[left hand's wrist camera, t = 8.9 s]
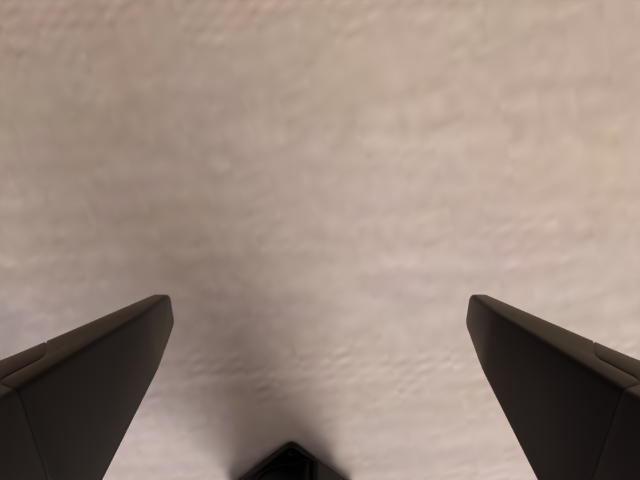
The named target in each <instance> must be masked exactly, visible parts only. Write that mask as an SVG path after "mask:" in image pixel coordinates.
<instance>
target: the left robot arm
mask: <svg viewBox="0 0 640 480" xmlns="http://www.w3.org/2000/svg"><path fill="white" fill-rule="evenodd" d="M173 323H174V319H173V312H172V306H171V300H170V297H169V296H168V295H153V296H150V297H148V298H146V299H143V300H141V301H139V302H137V303H134V304H132V305H130V306H127V307H125V308H123V309H120V310H118V311H116V312H113V313H111V314H109V315H106V316H104V317H102V318H99V319H97V320H95V321H93V322H90V323H88V324H86V325H83V326H81V327H79V328H76V329H74V330H72V331H69V332H67V333H65V334H62V335H60V336H58V337H55V338H53V339H51V340H49V341H47V343H45V342H44V343H41V344H39V345H37V346H34V347H32V348H30V349H27V350H25V351H23V352H20V353H18V354H15V355H13V356H11V357H8V358H6V359H3V360H1V361H0V480H102V479H103V477H104V475H105V473H106V471H107V469H108V467H109V465H110V463H111V461H112V459H113V457H114V455H115V453H116V451H117V449H118V447H119V445H120V443H121V441H122V439H123V437H124V435H125V433H126V431H127V429H128V427H129V425H130V423H131V421H132V419H133V417H134V415H135V413H136V411H137V409H138V407H139V405H140V403H141V401H142V399H143V397H144V395H145V393H146V391H147V389H148V387H149V385H150V383H151V381H152V379H153V377H154V375H155V373H156V371H157V369H158V366H159V364H160V361H161V359H162V356H163V353H164V350H165V347H166V345H167V342H168V339H169V336H170V334H171V331H172V328H173ZM466 323H467V328H468V331H469V334H470V336H471V339H472V342H473V345H474V347H475V350H476V353H477V356H478V359H479V361H480V364H481V366H482V369H483V371H484V373H485V375H486V377H487V379H488V381H489V383H490V385H491V387H492V389H493V391H494V393H495V395H496V397H497V399H498V401H499V403H500V405H501V407H502V409H503V411H504V413H505V415H506V417H507V419H508V421H509V423H510V425H511V427H512V429H513V431H514V433H515V435H516V437H517V439H518V441H519V443H520V445H521V447H522V449H523V451H524V453H525V455H526V457H527V459H528V461H529V463H530V465H531V467H532V469H533V471H534V473H535V475H536V477H537V479H538V480H640V361H639V360H637V359H634V358H632V357H629V356H627V355H625V354H622V353H620V352H617V351H615V350H613V349H610V348H608V347H606V346H603V345H601V344H599V343H596V342H595V343H593V341H591V340H589V339H587V338H585V337H582V336H580V335H578V334H575V333H573V332H571V331H568V330H566V329H564V328H561V327H559V326H557V325H554V324H552V323H550V322H547V321H545V320H543V319H541V318H538V317H536V316H534V315H531V314H529V313H527V312H524V311H522V310H520V309H517V308H515V307H513V306H510V305H508V304H506V303H503V302H501V301H499V300H497V299H494V298H492V297H490V296H487V295H472V296H471V297H470V300H469V306H468V312H467V319H466ZM240 480H345V479H343V478H342V477H341V476H339V475H338V474H337V473H335V472H334V471H333V470H331V469H330V468H329V467H327V466H326V465H325V464H323V463H322V462H321V461H319V460H318V459H317V458H315V457H314V456H313V455H311V454H310V453H309V452H307V451H306V450H305V449H303V448H302V447H301V446H299V445H298V444H297V443H295V442H289V443H287V444H286V445H284V446H283V447H282V448H280V449H279V450H278V451H276V452H275V453H274V454H272V455H271V456H270V457H269V458H267V459H266V460H265V461H263V462H262V463H261V464H259V465H258V466H257V467H255V468H254V469H253V470H251V471H250V472H249V473H248V474H246V475H245V476H244V477H242V478H241V479H240Z"/></svg>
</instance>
